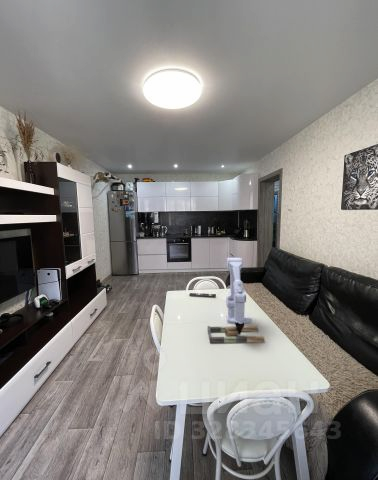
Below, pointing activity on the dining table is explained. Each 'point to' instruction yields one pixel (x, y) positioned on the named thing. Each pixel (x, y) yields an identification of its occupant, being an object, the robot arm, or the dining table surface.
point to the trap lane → (236, 338)
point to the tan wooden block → (231, 331)
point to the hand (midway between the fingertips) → (238, 333)
